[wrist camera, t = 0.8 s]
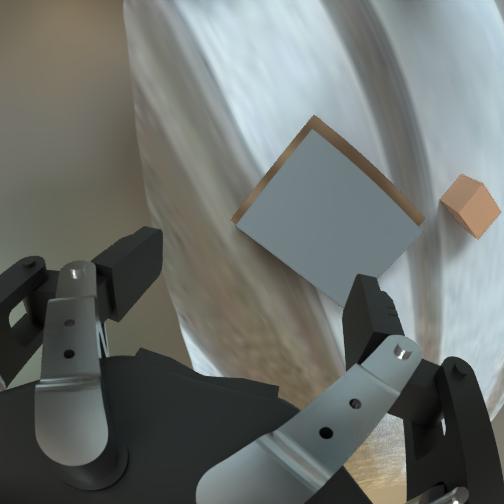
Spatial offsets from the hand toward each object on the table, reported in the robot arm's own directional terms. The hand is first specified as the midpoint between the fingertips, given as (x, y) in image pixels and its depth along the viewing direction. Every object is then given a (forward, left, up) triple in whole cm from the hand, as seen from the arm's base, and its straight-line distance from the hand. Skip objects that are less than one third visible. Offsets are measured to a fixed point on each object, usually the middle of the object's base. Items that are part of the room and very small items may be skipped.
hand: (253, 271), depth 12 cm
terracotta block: (-13, +20, -27) cm, 36 cm away
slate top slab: (+1, +7, -23) cm, 24 cm away
